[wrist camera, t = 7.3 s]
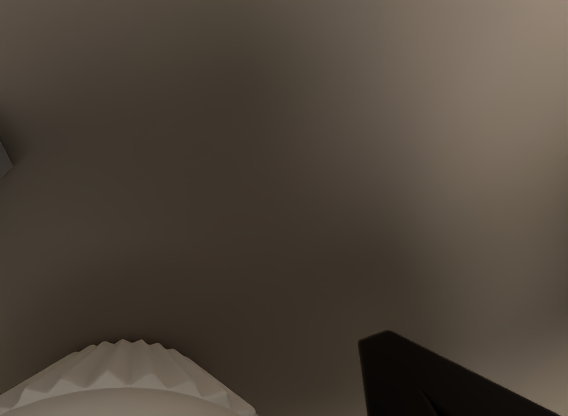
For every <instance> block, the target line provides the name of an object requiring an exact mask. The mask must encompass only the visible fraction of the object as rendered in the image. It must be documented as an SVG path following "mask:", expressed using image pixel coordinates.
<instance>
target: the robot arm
mask: <svg viewBox="0 0 568 416" xmlns="http://www.w3.org/2000/svg"><path fill="white" fill-rule="evenodd" d="M358 349H359V357H360V364H361V371H362V379H363V386H364V394H365V401H366V408H367V416H560V415H558V414H556V413H554V412H552V411H550V410H548V409H546V408H544V407H542V406H540V405H538V404H536V403H534V402H532V401H530V400H528V399H526V398H524V397H522V396H520V395H518V394H516V393H514V392H512V391H510V390H508V389H506V388H504V387H502V386H500V385H498V384H496V383H494V382H492V381H490V380H488V379H486V378H484V377H482V376H480V375H478V374H476V373H474V372H472V371H470V370H468V369H466V368H464V367H462V366H460V365H458V364H456V363H454V362H452V361H450V360H448V359H446V358H444V357H442V356H440V355H439V354H437V353H435V352H433V351H431V350H429V349H427V348H425V347H423V346H421V345H419V344H417V343H415V342H413V341H411V340H409V339H407V338H405V337H403V336H401V335H399V334H397V333H395V332H393V331H390V330H385V331H382V332H379V333H377V334H374V335H371V336H368V337H365V338H363V339H360V340H359V341H358Z"/></svg>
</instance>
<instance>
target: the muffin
mask: <svg viewBox="0 0 568 416" xmlns="http://www.w3.org/2000/svg"><path fill="white" fill-rule="evenodd" d="M0 416H259V415H257V414H256V410H255V409H254V407H252V406H251V405H250V404H248V403H247V402H246V401H244V400H243V399H242V398H241V397H239V396H238V395H237V394H235V393H234V392H233V391H231V390H230V389H229V388H227V387H226V386H225V385H224V384H222V383H221V382H220V381H218V380H217V379H216V378H214V377H213V376H212V375H210V374H209V373H208V372H206V371H205V370H204V369H202V368H201V367H199V366H198V365H197V364H196V363H195V362H193V361H192V360H191V359H189V358H188V357H185V356H183V355H182V354H180V353H179V352H178V351H177V350H175V349H165V348H164V347H163V346H162V345H161V344H160V343H155V344H152V345H149V344H146V343H145V342H144V341H143V340H138V341H136V342H133V343H131V342H128V341H126V340H124V339H121V340H119V341H118V342H117V343H115V344H113V343H109V342H107V341H104V342H101V343H100V344H99V345H98V346H96V345H89V346H87V347H86V348H84V349H83V350H81V351H80V352H73V353H71V354H69V355H67V356H66V357H64V358H62V359H60V360H59V361H57V362H55V363H54V364H52V365H50V366H48V367H47V368H45V369H44V370H42V371H40V372H38V373H37V374H35V375H33V376H32V377H30V378H28V379H27V380H25V381H23V382H21V383H20V384H18V385H16V386H15V387H13V388H11V389H10V390H8V391H6V392H5V393H3V394H1V395H0Z"/></svg>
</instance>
